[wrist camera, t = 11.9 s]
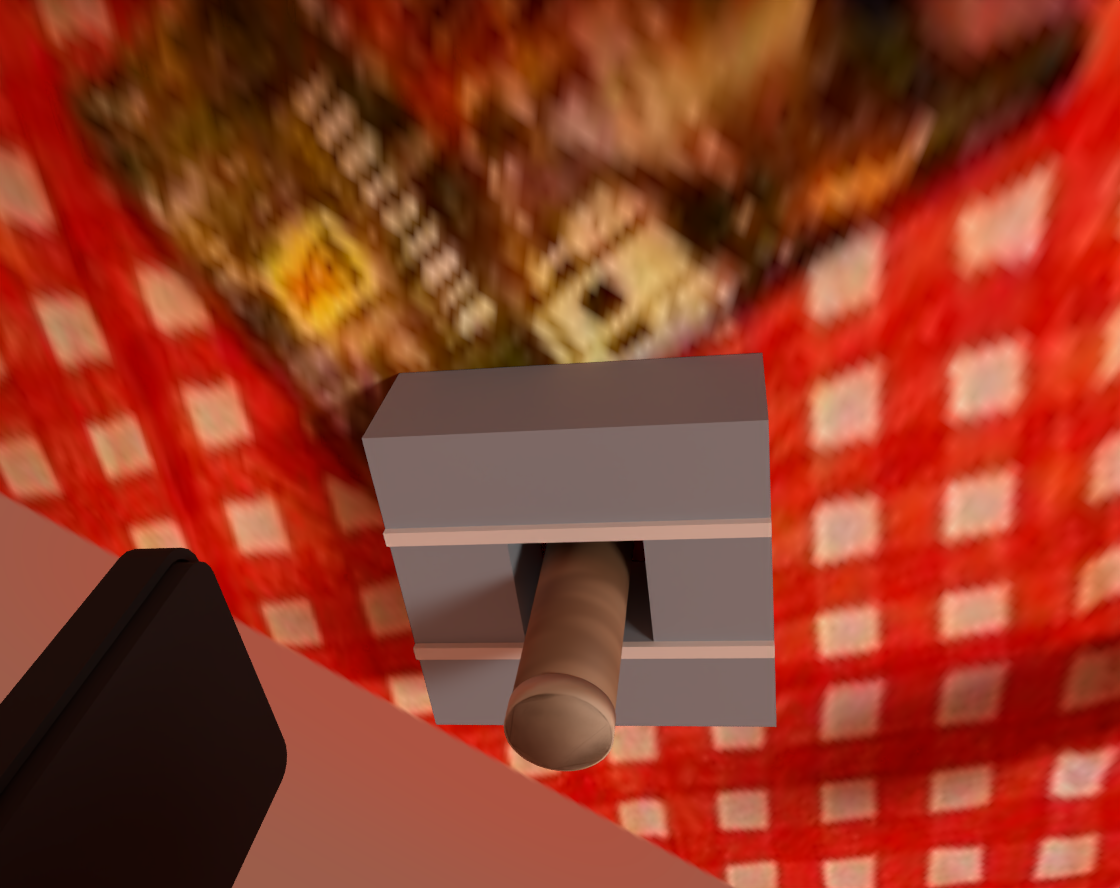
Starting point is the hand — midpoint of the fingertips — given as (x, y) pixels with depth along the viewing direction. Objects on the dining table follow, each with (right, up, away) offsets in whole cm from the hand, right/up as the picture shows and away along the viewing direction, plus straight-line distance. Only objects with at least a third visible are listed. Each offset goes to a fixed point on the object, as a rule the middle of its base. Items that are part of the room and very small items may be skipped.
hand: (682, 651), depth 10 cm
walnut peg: (0, -1, +32) cm, 32 cm away
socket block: (0, -1, +32) cm, 32 cm away
